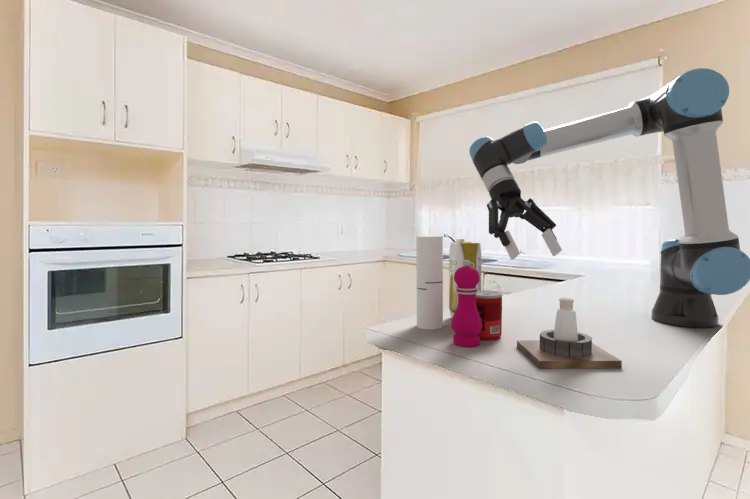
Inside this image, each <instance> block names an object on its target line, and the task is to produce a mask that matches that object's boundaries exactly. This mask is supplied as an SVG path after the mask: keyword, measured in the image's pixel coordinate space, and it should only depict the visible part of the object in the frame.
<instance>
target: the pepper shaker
mask: <svg viewBox="0 0 750 499" xmlns="http://www.w3.org/2000/svg"><path fill="white" fill-rule="evenodd" d="M553 330H554V337H553V339H557V340H564V341H578V334H577V332H578V323H577V314H576V311H575V309H574V299H573V298H571V297H561V298H559V308H558V309H557V310H556V316H555V323H554V329H553Z"/></svg>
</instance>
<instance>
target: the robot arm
mask: <svg viewBox="0 0 750 499" xmlns="http://www.w3.org/2000/svg"><path fill="white" fill-rule="evenodd" d="M729 96H730V85H729V82H728V80H727V79H726V77H724V75H723V74H721V72H718V71H716V70H713V69H712V68H703V67H702V68H701V67H699V68H692V69H690V70H687V71H685V72H683V73H681V74H679V75H677V76H676V77H674V78H673V79H671V81H670V82H669V83H667V84H666V85H665V86H663V87H662V88H660V89H659V90H657V91H656V92H654V93H652V94H651V95H649V96H647V97H644V98H641V99H639V100H636V101H632V102H630V103H629V104H628V106H627V107H624V108H620V109H617V110H613V111H610V112H605V113H601V114H599V115H598V114H597V115H594V116H590V117H586V118H583V119H580V120H575V121H571V122H569V123H564V124H561V125H558V126H554V127H551V128H547V129H546V128H545V129H544V128H543V127H542V125H541V124H540V123H539V122H538V121H532V122H529V123H527V124H524V125H523V126H522V127H519V128H518V129H516V130H514V131H512V132H510V133H508V134H506V135H504V136H503V137H500V138H498V139H495V140H494V139H493V138H492V137H491V136H484V137H479V138H478V139H476V140H474V141H473V143H471V145H470V147H469V150H468V152H469V156H470V158H471V162H472V163H473V165H474V167H475V169H476V170H477V173H478V175H479V176H480V177H479V178H480V179H481V180H482V182H483V185H484V186H485V189H486V190H487V192H488V195H489V197H490V201H489V202H488V203H487V204H486V208H487V210H488V234H490V235H493V237H494V238H496V239H499V241H500V243H501V245H502V246H503V247H504V248H505V250H506V252H507V254H508V256H509V258H510V260H512V261H513V260H515V259H516V258H517V257H518V256H520V254H521V252H520V250H519V248H518V246H517V244H516V242H515V240H514V238H513V236H512V235H511V232H510V230H506V229H507V226H508V222H509V218H520V220H525V221H526V222H527V223H529V225H531V226H533V227H535V228H536V230H538V231H540V232H542V234H541V237H542V238H543V240H544V242H545V244H546V246H547V248H548V249H549V251H550V253H551V255H552V257H555V256H557V255H559V254H560V252H563V249H562V247H561V245H560V243H559V241H558V239H557V237H556V235H555V233H554V230H553V229H555V228H556V227H557V225H556V223H555V222H554V221H553V220H552V218H550V217H549V216H548V215H547V214H546V213H545V212H544V211H543V210H542V209H541V208H540V207H539V206H538V205H536V202H535V201H534V200H533V199H532V198H528V199H527V200H524V199H523V197H522V195H521V194H522V190H521V188H520V186H519V184H518V183H517V181H516V180H515V179H516V178H515V177H514V175H513V173H512V172H511V170H510V168H509V166H508V165H511V164H515V165H520V164H524V163H526V162H528V161H532V160H536V159H539V158H542V157H547V156H550V155H553V154H558V153H562V152H567V151H571V150H574V149H579V148H582V147H587V146H591V145H594V144H598V143H603V142H607V141H610V140H614V139H619V138H622V137H626V136H630V135H632V136H634V137H636V138H637V137H641V136H646V135H649V134H651V135H652V134H655V133H661V132H663V136H664V137H665V138H667V139H669V140H671V141H672V147H673V148H672V149H673V154H674V155H673V156H674V162H675V170H676V177H677V183H678V184H677V185H678V191H679V198H680V205H681V206H680V207H681V213H682V221H683V228H684V235H683V237H682V238H677V239H676V238H675V239H667V240H664V241H663V243H662V244H661V250H660V271H659V272H660V273H659V274H660V276H659V294H658V295H657V298H656V300H655V302H654V304H653V308H652V310H651V319H652V320H654V321H656V322H659V323H662V324H663V323H664V324H667V325H671V326H679V327H687V328H688V327H689V328H714V327H718V326H719V315H718V312H717V308H716V307H715V304H714V301H713V299H712V295H715V296H717V295H718V296H725V295H726V296H727V295H731V294H735V293H736V292H738V291H740V290H742V289H743V288H744V287H745V286H746V285H747V284H749V282H750V257H749V256H748V255H747V254H746V253H745V252H744V251H742V250H741V248H740V247H741V246H740V240H739V239H740V238H739V235H737V234H736V233H734V232H733V231H731V230H730V228H729V220H728V214H727V212H728V211H727V207H726V206H727V205H726V197H725V191H724V190H725V188H724V183H723V176H722V175H723V174H722V167H721V160H720V159H721V158H720V153H719V145H718V138H717V137H718V136H717V130H718V129H719V128H720V127H721V126H722V124H723V123H724V118H723V112H722V108H723V107H724V106H725V104H726V103H727V101H728V99H729ZM499 211H500V216H499Z"/></svg>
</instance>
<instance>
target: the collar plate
mask: <svg viewBox="0 0 750 499" xmlns="http://www.w3.org/2000/svg"><path fill="white" fill-rule="evenodd" d="M577 334H578V341H564V340H557V339H553V337H554V329H547V330H542V331H541V332H540V334H539V340H538V339H537V340H535V339H532V340H530V339H529V340H527V339H525V340H521V339H520V340H516V348H518V349H519V351H521V353H523V354H524V355H525V356H526V357H527V358H528V359H529V360H530V361H531V362H532V363H533V364H534V365H535V366H536V367H537V368H538V369H622V366H623V363H622V362H623V361H622V360H621V359H620V358H618V357H617V356H614V355H613V354H611V353H610V352H608V351H606V350H604V349H603V348H601V347H600V346H598V345H596V344H594V343H593V337H592V336H590V335H589V334H586V333H583V332H579V331H577Z"/></svg>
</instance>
